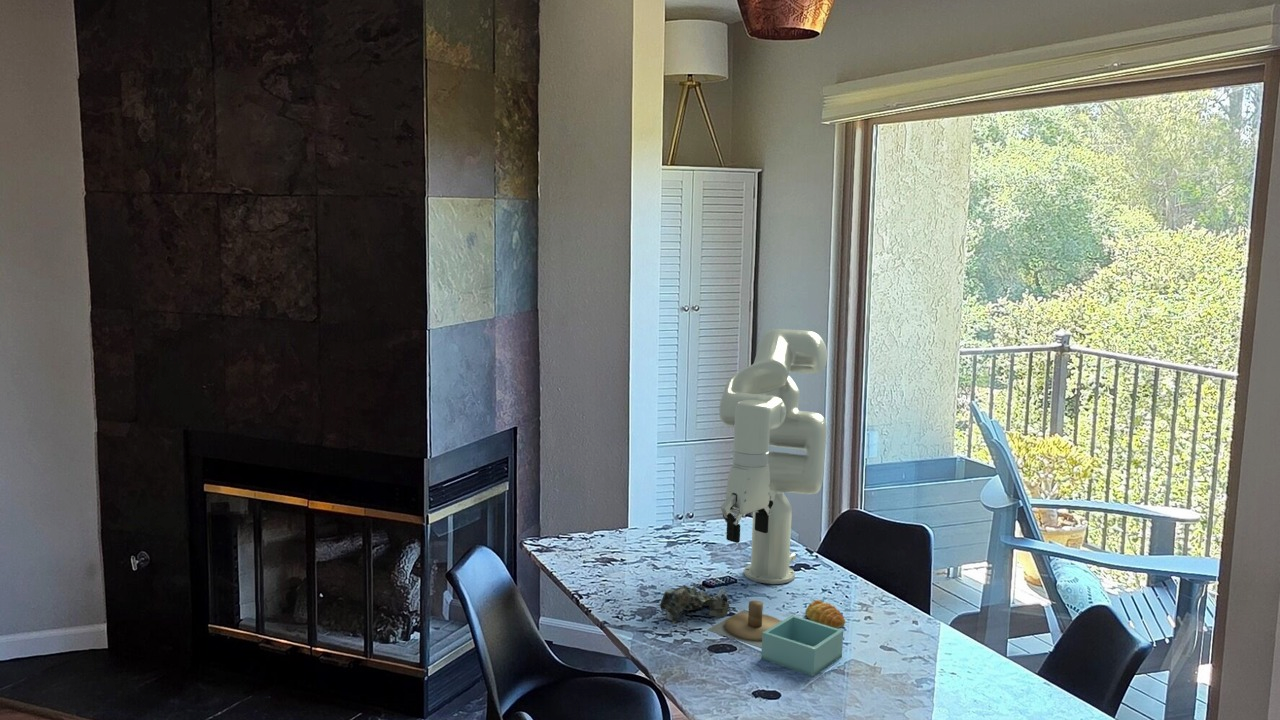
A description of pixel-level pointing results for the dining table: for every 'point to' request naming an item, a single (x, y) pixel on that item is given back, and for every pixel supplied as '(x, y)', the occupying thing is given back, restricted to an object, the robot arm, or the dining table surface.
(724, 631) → the mat
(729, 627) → the lid
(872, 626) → the dining table surface
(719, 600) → the mottled brown rock
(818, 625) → the green square box
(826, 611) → the pastry
